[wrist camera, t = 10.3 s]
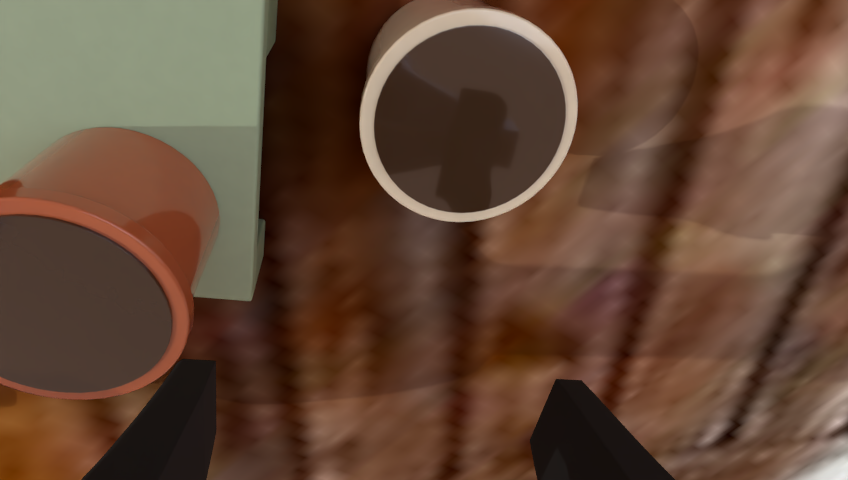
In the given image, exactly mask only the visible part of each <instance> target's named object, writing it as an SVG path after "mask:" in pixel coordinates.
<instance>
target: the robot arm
mask: <svg viewBox="0 0 848 480" xmlns="http://www.w3.org/2000/svg"><path fill="white" fill-rule="evenodd" d="M215 435H216V361H210V360H191V359H182V360H181V361H179V362H178V363H177V364H176V365H175V367H174V368H173V370H172V371H171V373H170V374H169V375H168V377H167V378H166V380H165V381H164V382H163V384H162V385H161V386H160V388H159V389H158V390H157V392H156V393H155V394H154V396H153V397H152V398H151V400H150V401H149V402H148V403H147V405H146V406H145V407H144V408H143V410H142V411H141V412H140V413H139V415H138V416H137V417H136V418H135V420H134V421H133V422H132V423H131V424H130V425H129V427H128V428H127V429H126V430H125V431H124V433H123V434H122V435H121V436H120V437H119V438H118V440H117V441H116V442H115V443H114V444H113V446H112V447H111V448H110V449H109V450H108V451H107V453H106V454H105V455H104V456H103V457H102V458H101V459H100V460H99V461H98V462H97V464H96V465H95V466H94V467H93V468H92V469H91V470H90V471H89V472H88V473H87V474H86V475H85V476H84V477H83V479H82V480H206V478H207V474H208V469H209V464H210V460H211V455H212V450H213V445H214V440H215ZM530 444H531V450H532V455H533V460H534V466H535V470H536V475H537V479H538V480H675V479H674V478H673V477H672V476H671V475H670V474H669V473H668V472H667V471H666V470H665V469H664V468H663V467H662V466H661V465H660V464H659V463H658V462H657V461H656V460H655V459H654V458H653V457H652V456H651V455H650V454H649V453H648V451H647V450H646V449H645V448H644V447H643V446H642V445H641V444H640V443H639V442H638V441H637V440H636V439H635V438H634V437H633V436H632V434H631V433H630V432H629V431H628V430H627V429H626V428H625V427H624V426H623V425H622V424H621V422H620V421H619V420H618V419H617V418H616V417H615V416H614V415H613V414H612V413H611V412H610V410H609V409H608V408H607V407H606V406H605V405H604V404H603V403H602V402H601V401H600V400H599V398H598V397H597V396H596V395H595V394H594V393H593V392H592V391H591V390H590V389H589V388H588V387H587V386H586V385H585V384H584V383H583V382H582V381H581V380H564V379H556V380H555V383H554V385H553V387H552V390H551V392H550V394H549V397H548V399H547V401H546V404H545V406H544V408H543V411H542V413H541V415H540V418H539V420H538V422H537V425H536V427H535V429H534V432H533V434H532V436H531V439H530Z"/></svg>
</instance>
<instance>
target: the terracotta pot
mask: <svg viewBox="0 0 848 480" xmlns="http://www.w3.org/2000/svg"><path fill="white" fill-rule="evenodd" d="M219 225H220V216H219V209H218V204H217V201H216V198H215V195H214V193H213V190H212V189H211V187H210V185H209V183H208V181H207V180H206V178H205V177H204V176H203V174H202V173H201V172H200V170H199V169H198V168H197V167H196V166H195V165H194V164H193V163H192V162H191V161H190V160H189V159H188V158H186V157H185V156H184V155H183V154H182V153H180V152H179V151H177V150H176V149H175V148H173V147H172V146H170V145H168V144H166V143H164V142H163V141H161V140H159V139H156V138H154V137H152V136H149V135H146V134H143V133H140V132H137V131H133V130H128V129H122V128H112V127H98V128H89V129H83V130H79V131H76V132H73V133H70V134H68V135H65V136H63V137H61V138H59V139H58V140H56V141H55V142H54V143H52V144H51V145H49V146H48V147H47V148H46V149H44V150H43V151H42V152H40V153H39V154H38V155H37V156H35V157H34V158H33V159H32V160H30V161H29V162H28V163H27V164H25V165H24V166H23V167H21V168H20V169H19V170H18V171H16V172H15V173H14V174H13V175H11V176H10V177H9V178H7V179H6V180H5V181H4V182H2V183H1V184H0V384H2V385H4V386H7V387H10V388H13V389H16V390H19V391H22V392H26V393H30V394H34V395H39V396H45V397H51V398H58V399H70V400H90V399H102V398H108V397H114V396H119V395H122V394H126V393H129V392H132V391H135V390H137V389H140V388H142V387H145V386H146V385H148V384H150V383H152V382H154V381H155V380H157V379H158V378H159V377H161V376H162V375H163V374H165V373H166V372H167V371H168V370H169V369H170V368H171V367H172V366H173V365H174V364H175V363H176V361H177V360H178V358H179V357H180V355H181V354H182V352H183V350H184V348H185V345H186V343H187V341H188V338H189V335H190V333H191V329H192V325H193V319H194V304H193V296H194V294H195V291H196V289H197V286H198V284H199V281H200V279H201V277H202V274H203V272H204V269H205V267H206V264H207V262H208V259H209V257H210V255H211V252H212V250H213V247H214V245H215V242H216V240H217V236H218V233H219Z"/></svg>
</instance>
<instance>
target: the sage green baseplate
mask: <svg viewBox="0 0 848 480" xmlns="http://www.w3.org/2000/svg"><path fill="white" fill-rule="evenodd" d="M277 4H278V0H0V184H1V183H2V182H4V181H5V180H6V179H7V178H9V177H10V176H11V175H13V174H14V173H15V172H16V171H18V170H19V169H20V168H21V167H23V166H24V165H25V164H27V163H28V162H29V161H30V160H32V159H33V158H34V157H35V156H37V155H38V154H39V153H40V152H42V151H43V150H44V149H46V148H47V147H48V146H49V145H51V144H52V143H54V142H55V141H56V140H58V139H59V138H61V137H63V136H65V135H68V134H70V133H73V132H76V131H79V130H83V129H89V128H98V127H112V128H122V129H128V130H133V131H137V132H140V133H143V134H146V135H149V136H152V137H154V138H156V139H159V140H161V141H163V142H164V143H166V144H168V145H170V146H172V147H173V148H175V149H176V150H177V151H179V152H180V153H182V154H183V155H184V156H185V157H186V158H188V159H189V160H190V161H191V162H192V163H193V164H194V165H195V166H196V167H197V168H198V169H199V170H200V172H201V173H202V174H203V176H204V177H205V178H206V180H207V181H208V183H209V185H210V187H211V189H212V190H213V193H214V195H215V198H216V201H217V204H218V209H219V216H220V225H219V233H218V236H217V240H216V242H215V245H214V247H213V250H212V252H211V255H210V257H209V259H208V262H207V264H206V267H205V269H204V272H203V274H202V277H201V279H200V281H199V284H198V286H197V289H196V291H195V294H194V296H193V297H204V298H216V299H228V300H240V301H251V300H252V298H253V294H254V290H255V285H256V282H257V278H258V274H259V271H260V267H261V263H262V259H263V255H264V237H265V220H263V219H258V217H259V196H260V175H261V154H262V134H263V113H264V92H265V71H266V57H267V55H268V53H269V51H270V50H271V48H272V46H273V45H274V43H275V40H276V22H277Z"/></svg>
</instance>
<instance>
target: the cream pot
mask: <svg viewBox="0 0 848 480" xmlns="http://www.w3.org/2000/svg"><path fill="white" fill-rule="evenodd" d="M577 113H578V99H577V90H576V85H575V81H574V77H573V73H572V71H571V69H570V66H569V64H568V61H567V60H566V58H565V56H564V55H563V53H562V51H561V50H560V48H559V47H558V46H557V45H556V43H555V42H554V41H553V40H552V39H551V38H550V37H549V36H548V35H547V34H546V33H545V32H544V31H543V30H541V29H540V28H539V27H537V26H536V25H534V24H533V23H531V22H530V21H528V20H527V19H525V18H524V17H521V16H519V15H517V14H515V13H513V12H510V11H507V10H504V9H500V8H497V7H491V6H489V5H487V4H486V3H484V2H483V1H481V0H414V1H412V2H410V3H408V4H406V5H405V6H403V7H402V8H400V9H399V10H398V11H397V12H395V13H394V14H393V15H392V16H391V17H390V18H389V19H388V20H387V21H386V23H385V24H384V25H383V26H382V28H381V29H380V31H379V32H378V34H377V36H376V38H375V40H374V42H373V44H372V47H371V50H370V52H369V56H368V61H367V69H366V83H365V86H364V89H363V93H362V98H361V102H360V113H359V127H360V139H361V144H362V149H363V152H364V155H365V158H366V161H367V164H368V166H369V168H370V169H371V171H372V173H373V175H374V177H375V178H376V179H377V181H378V182H379V184H380V185H381V186H382V187H383V189H384V190H385V191H386V192H387V193H388V194H389V195H390V196H391V197H393V198H394V199H395V200H396V201H397V202H399V203H400V204H402V205H403V206H405V207H406V208H408V209H410V210H412V211H414V212H416V213H418V214H420V215H423V216H426V217H429V218H432V219H436V220H442V221H449V222H471V221H478V220H484V219H488V218H491V217H495V216H498V215H500V214H503V213H505V212H508V211H510V210H512V209H514V208H516V207H517V206H519V205H521V204H523V203H524V202H525V201H527V200H528V199H530V198H531V197H533V196H534V195H535V194H536V193H537V192H538V191H539V190H541V189H542V188H543V187H544V186H545V184H546V183H547V182H548V181H549V180H550V179H551V178H552V177H553V175H554V174H555V172H556V171H557V170H558V168H559V167H560V165H561V163H562V162H563V160H564V158H565V156H566V154H567V152H568V150H569V147H570V145H571V143H572V139H573V136H574V132H575V128H576V121H577Z"/></svg>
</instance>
